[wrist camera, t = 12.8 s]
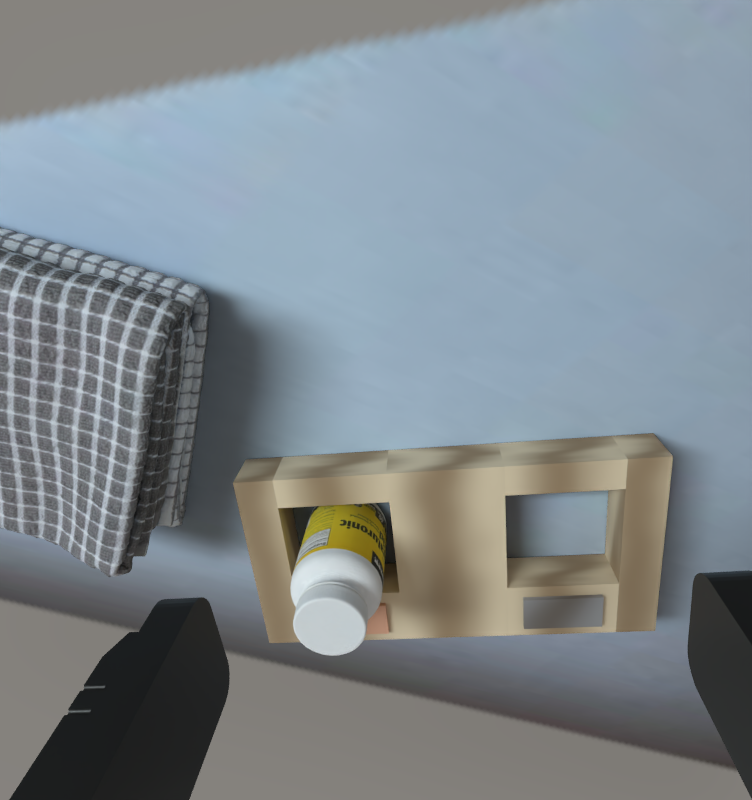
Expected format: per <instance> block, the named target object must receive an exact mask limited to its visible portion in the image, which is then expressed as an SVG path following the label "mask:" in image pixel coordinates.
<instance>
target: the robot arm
mask: <svg viewBox="0 0 752 800" xmlns="http://www.w3.org/2000/svg"><path fill="white" fill-rule="evenodd" d="M688 659H689V665H690V669H691V673H692V677H693V680H694V683H695V686H696V688H697V690H698V692H699V694H700V696H701V698H702V700H703V702H704V704H705V706H706V708H707V710H708V712H709V714H710V716H711V718H712V720H713V722H714V724H715V726H716V728H717V730H718V732H719V734H720V736H721V738H722V740H723V742H724V744H725V746H726V748H727V750H728V752H729V754H730V756H731V758H732V760H733V762H734V764H735V766H736V768H737V770H738V772H739V774H740V776H741V778H742V780H743V782H744V784H745V786H746V788H747V790H748V792H749V794H750V796H751V798H752V571H732V572H713V573H699V574H697V575H696V576H695V578H694V581H693V590H692V602H691V614H690V625H689V637H688ZM228 689H229V665H228V660H227V657H226V654H225V651H224V647H223V644H222V641H221V638H220V635H219V631H218V628H217V625H216V622H215V618H214V615H213V612H212V609H211V606H210V604H209V602H208V600H207V599H205V598H183V599H164V600H161V601H159V602H158V603H157V604H156V605H155V606H154V608H153V609H152V611H151V613H150V614H149V616H148V618H147V619H146V621H145V622H144V624H143V626H142V627H141V629H140V631H139V632H129V633H128V634H127V635H126V636H125V637H124V638H123V639H122V640H120V641H119V642H118V643H117V644H116V645H115V646H114V647H113V648H112V649H111V650H110V651H108V652H107V653H106V654H105V655H104V656H103V657H102V659H101V660H100V661H99V663H98V664H97V666H96V668H95V669H94V671H93V672H92V674H91V675H90V677H89V678H88V680H87V681H86V683H85V684H84V690H83V691H80V692H79V694H78V695H77V697H76V698H75V700H74V701H73V703H72V704H71V706H70V708H69V713H68V715H65V716H64V717H63V718H62V720H61V721H60V723H59V724H58V726H57V727H56V729H55V731H54V732H53V734H52V735H51V737H50V738H49V740H48V741H47V743H46V744H45V746H44V747H43V749H42V750H41V752H40V754H39V755H38V757H37V758H36V760H35V761H34V763H33V764H32V766H31V767H30V769H29V770H28V772H27V773H26V775H25V777H24V778H23V780H22V781H21V783H20V784H19V786H18V787H17V789H16V791H15V792H14V793H13V795H12V797H11V798H10V800H189V799H190V796H191V793H192V791H193V788H194V785H195V782H196V780H197V777H198V775H199V772H200V769H201V767H202V764H203V761H204V758H205V756H206V753H207V750H208V748H209V745H210V742H211V740H212V737H213V734H214V731H215V729H216V726H217V723H218V721H219V718H220V716H221V712H222V710H223V707H224V705H225V702H226V698H227V695H228Z"/></svg>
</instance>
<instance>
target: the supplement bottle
mask: <svg viewBox="0 0 752 800" xmlns="http://www.w3.org/2000/svg"><path fill="white" fill-rule="evenodd" d="M386 541H387V523H386V519H385V516H384V514H383V512H382V511H381V509H380V508H379V507H378V505H377V504H376V503H365V504H347V505H329V506H315V507H314V509H313V511H312V513H311V515H310V518H309V521H308V524H307V527H306V531H305V534H304V538H303V541H302V544H301V548H300V551H299V554H298V558H297V561H296V565H295V568H294V571H293V575H292V579H291V587H290V589H291V597H292V600H293V603H294V605H295V607H296V610H295V615H294V619H293V627H294V632H295V634H296V636H297V638H298V639H299V640H300V642H301V643H302V644H303V645H304V646H306V647H307V648H309V649H310V650H312V651H314V652H317V653H320V654H324V655H342V654H346V653H349V652H351V651H353V650H354V649H356V648H357V647H358V646H359V645H360V644H361V643H362V642H363V640H364V638H365V635H366V631H367V623H368V619H370V618H371V617H372V616H373V615H374V613H375V612H376V610H377V609H378V607H379V605H380V602H381V598H382V591H383V579H384V565H385V553H386Z"/></svg>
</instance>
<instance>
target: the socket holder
mask: <svg viewBox="0 0 752 800" xmlns="http://www.w3.org/2000/svg"><path fill="white" fill-rule="evenodd" d="M672 462H673V456H672V455H671V453H670V452H669V451H668V450H667V449H666V448H665V446H664V445H663V444H662V443H661V442H660V441H659V439H658V438H657V437H656V436H655V435H654V434H653V433H650V434H635V435H619V436H603V437H588V438H572V439H557V440H541V441H526V442H510V443H494V444H479V445H463V446H448V447H432V448H417V449H401V450H385V451H370V452H354V453H339V454H323V455H308V456H292V457H276V458H261V459H246V460H245V462H244V464H243V466H242V467H241V469H240V471H239V473H238V475H237V476H236V478H235V480H234V482H233V486H234V490H235V495H236V499H237V503H238V508H239V512H240V516H241V521H242V525H243V529H244V534H245V538H246V542H247V547H248V551H249V555H250V560H251V564H252V568H253V573H254V577H255V581H256V586H257V590H258V594H259V599H260V603H261V607H262V612H263V616H264V620H265V625H266V629H267V633H268V638H269V642H270V643H286V642H300V640H299V639H298V638H297V636H296V634H295V632H294V627H293V619H294V615H295V610H296V607H295V605H294V603H293V600H292V597H291V589H290V587H291V579H292V575H293V571H294V568H295V565H296V561H297V558H298V554H299V551H300V546H299V541H298V535H297V530H296V525H295V519H294V514H293V509H292V508H293V507H311V506H329V505H347V504H365V503H383V502H389V503H390V512H391V521H392V530H393V539H394V548H395V557H396V563H390V564H385V565H384V579H383V591H382V598H381V602H380V605H379V607H378V609H377V610H376V612H375V613H374V615H373V616H372V617H371V618H370V619H368V623H367V631H366V635H365V638H364V640H380V639H411V638H442V637H473V636H505V635H536V634H567V633H599V632H630V631H655V626H656V617H657V607H658V597H659V588H660V578H661V568H662V559H663V549H664V539H665V530H666V520H667V510H668V501H669V491H670V481H671V472H672ZM600 490H608V508H607V526H606V544H605V554H591V555H568V556H546V557H524V558H507V552H506V508H505V496H509V495H527V494H545V493H564V492H582V491H600Z"/></svg>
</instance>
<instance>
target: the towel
mask: <svg viewBox="0 0 752 800" xmlns="http://www.w3.org/2000/svg"><path fill="white" fill-rule="evenodd" d="M208 317H209V300H208V298H207V296H206V294H205V291H204V290H203V289H202V288H200V287H199V286H198V285H195V284H191V283H186V282H185V281H183V280H181V279H179V278H175V277H168V276H166V275H165V274H163V273H159V272H152V271H149V270H147V269H145V268H143V267H139V266H130V265H129V264H126V263H124V262H121V261H114V260H112V259H110V258H109V257H106V256H103V255H97V254H94V253H91V252H89V251H85V250H82V249H74V248H72V247H69V246H67V245H62V244H58V243H53V242H49V241H46V240H43V239H36V238H34V237H31V236H28V235H26V234H24V233H23V234H18V233H16V232H14V231H11V230H7V229H2V228H1V227H0V528H5V529H7V530H11V531H14V532H18V533H25V534H27V535H31V536H34V537H36V538H43V539H45V540H47V541H49V542H52V543H53V544H55V545H57V544H59V545H60V546H61V547H62V548H64V549H65V550H67V551H69V552H70V553H71V554H72V555H73V556H74V557H76V558H77V559H79V560H81V561H83V562H85V563H86V564H87V565H88V566H90V567H92V568H99V569H100V570H101V571H102V572H103V573H104V574H106V575H107V576H108V577H111V576H119V575H123V574H126V573H128V572H130V571H131V569H132V559H133V556H145V555H146V553H147V549H148V545H149V539H150V534H151V531H152V529H153V528H155V526H168V527H175V526H178V525H182V521H183V517H184V513H185V508H186V506H185V499H186V497H187V488H188V480H189V474H190V467H191V460H192V457H193V455H192V453H193V448H194V446H195V443H194V439H195V432H196V426H197V417H198V410H199V404H200V394H201V386H202V381H203V368H204V361H205V349H206V344H207V337H208V325H207V322H208Z"/></svg>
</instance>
